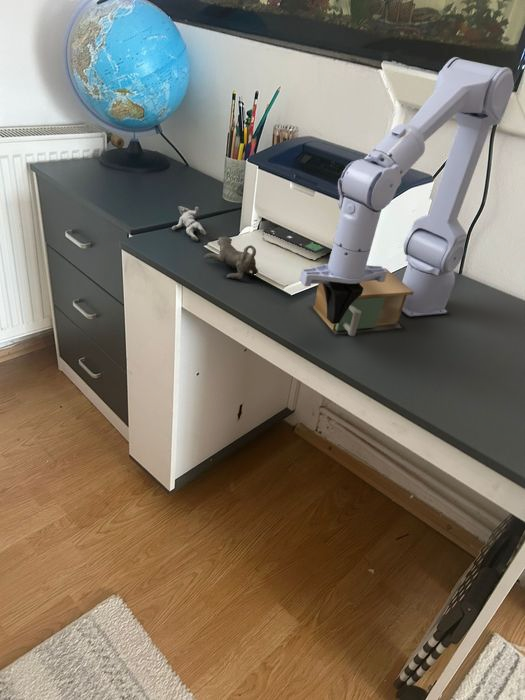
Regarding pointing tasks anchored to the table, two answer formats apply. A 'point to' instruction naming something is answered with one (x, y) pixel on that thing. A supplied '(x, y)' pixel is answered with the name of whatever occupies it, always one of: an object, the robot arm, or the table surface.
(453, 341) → the table surface
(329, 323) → the closet
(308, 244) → the disk drive
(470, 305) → the table surface
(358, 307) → the closet door
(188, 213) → the soldier figure
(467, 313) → the table surface
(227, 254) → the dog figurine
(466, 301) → the table surface
